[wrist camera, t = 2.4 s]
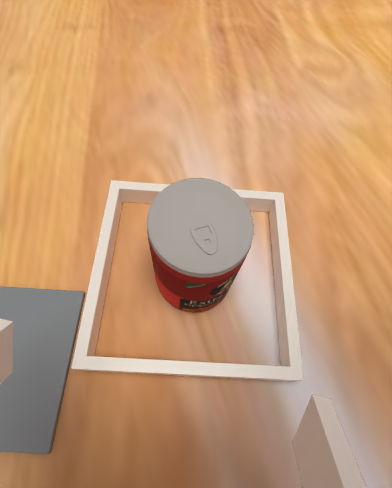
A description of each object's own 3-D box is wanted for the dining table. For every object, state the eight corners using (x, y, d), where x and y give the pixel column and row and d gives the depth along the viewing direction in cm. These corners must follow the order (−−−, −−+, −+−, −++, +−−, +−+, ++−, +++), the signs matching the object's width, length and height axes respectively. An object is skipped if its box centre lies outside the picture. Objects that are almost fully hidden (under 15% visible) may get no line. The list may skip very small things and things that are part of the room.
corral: (276, 205, 35) (283, 192, 33) (293, 381, 27) (303, 380, 25) (115, 194, 35) (111, 180, 32) (80, 370, 26) (71, 368, 24)
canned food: (185, 330, 28) (190, 296, 18) (140, 266, 31) (124, 207, 21) (245, 285, 31) (278, 235, 21) (199, 229, 33) (209, 161, 23)
